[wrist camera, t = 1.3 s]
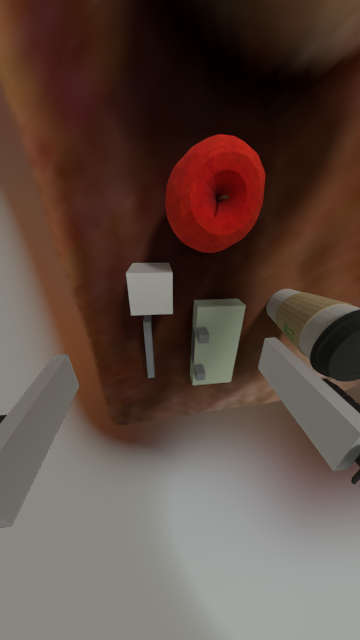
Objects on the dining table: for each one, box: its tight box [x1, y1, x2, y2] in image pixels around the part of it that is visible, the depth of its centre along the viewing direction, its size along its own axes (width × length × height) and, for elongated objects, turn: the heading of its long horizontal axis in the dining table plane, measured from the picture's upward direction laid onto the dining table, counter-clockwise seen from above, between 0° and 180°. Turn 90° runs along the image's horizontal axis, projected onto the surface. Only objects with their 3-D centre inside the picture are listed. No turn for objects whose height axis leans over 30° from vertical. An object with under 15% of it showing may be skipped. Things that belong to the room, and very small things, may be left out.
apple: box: [165, 134, 266, 253], centre depth 19 cm, size 10×10×12 cm
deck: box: [143, 299, 246, 385], centre depth 32 cm, size 17×17×6 cm
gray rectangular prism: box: [126, 263, 173, 315], centre depth 26 cm, size 6×6×7 cm
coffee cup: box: [266, 289, 360, 381], centre depth 27 cm, size 10×10×15 cm
